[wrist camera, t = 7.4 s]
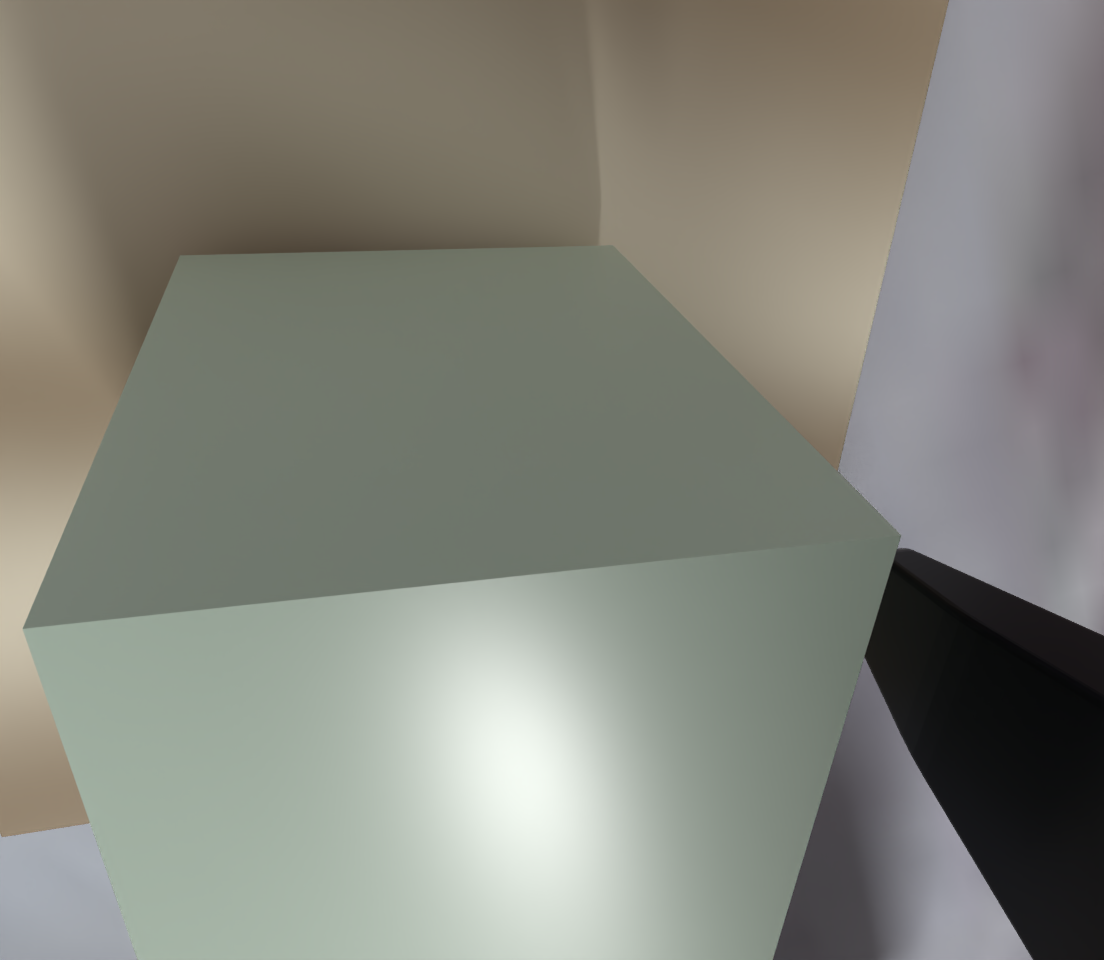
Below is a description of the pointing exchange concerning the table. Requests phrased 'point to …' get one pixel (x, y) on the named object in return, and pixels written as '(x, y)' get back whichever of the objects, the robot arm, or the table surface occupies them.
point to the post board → (424, 199)
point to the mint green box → (451, 618)
